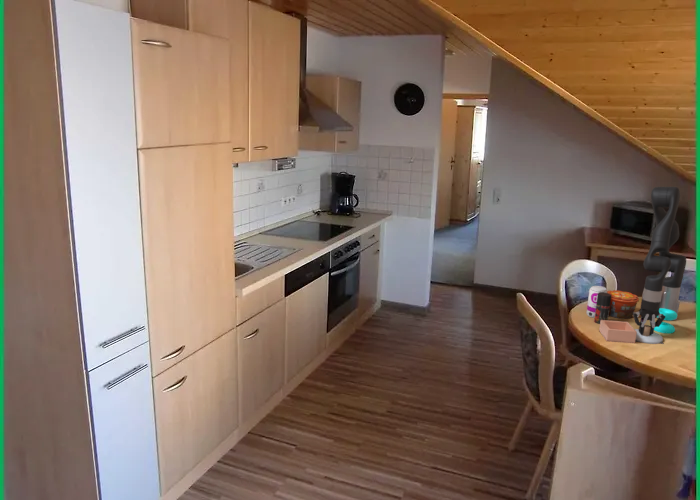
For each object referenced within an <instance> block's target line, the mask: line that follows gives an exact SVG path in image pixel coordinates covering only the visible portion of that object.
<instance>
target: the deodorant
mask: <svg viewBox="0 0 700 500" xmlns="http://www.w3.org/2000/svg"><path fill="white" fill-rule="evenodd" d="M610 302H611V294H609V293H604V292H599V293H598V297H597V304H596V311H595V318H593V322H594V323H595V324H597V325H600V321H601V320H608V321H609V308H610Z"/></svg>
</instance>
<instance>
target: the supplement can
mask: <svg viewBox="0 0 700 500" xmlns="http://www.w3.org/2000/svg"><path fill="white" fill-rule="evenodd" d="M588 290H589V291H588V299H587V305H586V315H587V316H588V317H590V318H593V319H594V318H595V311H596V304H597V297H598V293H599V292H604V293H607V291H608V290H607V288H606V287H605V286H601V285H592V286H591V287H590V288H589V289H588Z"/></svg>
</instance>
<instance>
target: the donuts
mask: <svg viewBox="0 0 700 500" xmlns="http://www.w3.org/2000/svg"><path fill="white" fill-rule="evenodd" d="M659 313H660V314H663V315H664V316H665V318H664V320H663V321H662V323H661V324H660V326H659V327H655V328H654V331H655V332H656V333H661V334H673V333H675V331H676V328H675V326H674V325H673V324H672V323H669V322H666V321H669V320H671V321H675V320H674V319H676V318H677V319H678V315H677V313H676V312H675V311H673V310H670V309H665V308H659ZM656 319H658V316H657V318H656Z"/></svg>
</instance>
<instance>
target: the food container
mask: <svg viewBox="0 0 700 500" xmlns="http://www.w3.org/2000/svg"><path fill="white" fill-rule="evenodd" d="M607 293H609V294H611V302H610V308H609V315H608V317H612V318H616V319H622V320H628V319H631V318H634V317H633V312H635V310H636V307H637V304H638V302H639V301H640V298H639V297H638V295H636V294H633V293H631V292H630V291H629V292H628V291H622V290H615V289H614V290H607Z"/></svg>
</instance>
